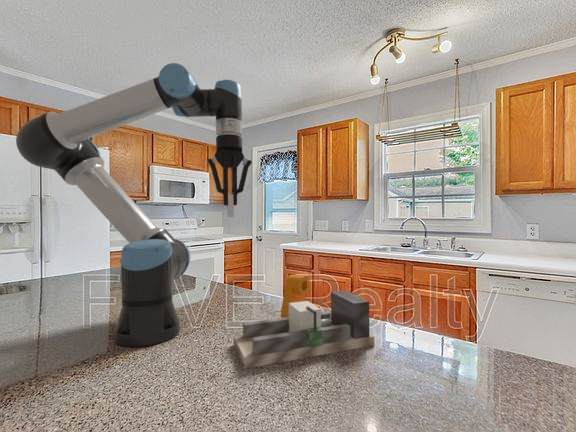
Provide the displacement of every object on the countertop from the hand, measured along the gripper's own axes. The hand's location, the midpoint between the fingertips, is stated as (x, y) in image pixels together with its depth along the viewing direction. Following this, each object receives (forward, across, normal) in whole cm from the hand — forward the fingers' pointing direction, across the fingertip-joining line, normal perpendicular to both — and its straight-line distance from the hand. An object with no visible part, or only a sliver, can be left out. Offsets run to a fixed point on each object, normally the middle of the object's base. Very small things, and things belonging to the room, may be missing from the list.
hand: (230, 216), depth 94 cm
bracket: (+30, +19, -8) cm, 36 cm away
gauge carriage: (+27, +15, -27) cm, 41 cm away
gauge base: (+29, +13, -26) cm, 41 cm away
